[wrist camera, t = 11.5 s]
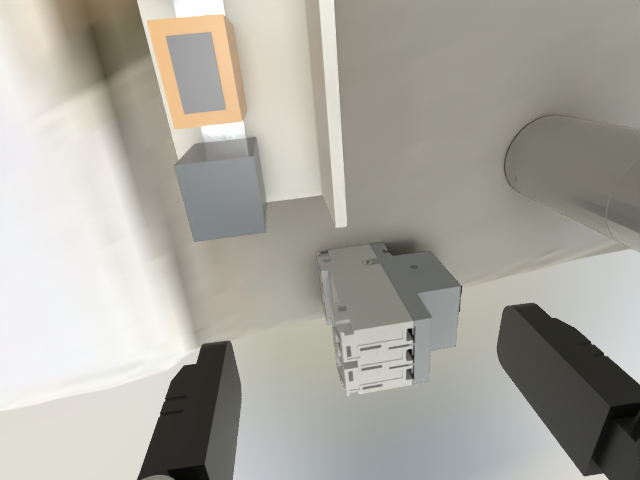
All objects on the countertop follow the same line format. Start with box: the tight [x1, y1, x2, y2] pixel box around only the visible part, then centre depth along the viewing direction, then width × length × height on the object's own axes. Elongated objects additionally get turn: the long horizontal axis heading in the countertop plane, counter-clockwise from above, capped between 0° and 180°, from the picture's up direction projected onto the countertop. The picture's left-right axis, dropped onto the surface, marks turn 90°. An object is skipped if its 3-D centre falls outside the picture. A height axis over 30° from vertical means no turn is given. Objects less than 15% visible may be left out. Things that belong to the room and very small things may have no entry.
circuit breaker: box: [317, 242, 462, 396], centre depth 39 cm, size 8×14×15 cm, turn 96°
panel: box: [137, 0, 347, 228], centre depth 30 cm, size 15×28×10 cm, turn 5°
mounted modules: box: [174, 137, 266, 242], centre depth 29 cm, size 6×25×8 cm, turn 5°
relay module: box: [146, 14, 247, 130], centre depth 29 cm, size 5×7×8 cm
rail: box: [173, 0, 246, 143], centre depth 33 cm, size 4×27×1 cm, turn 5°
